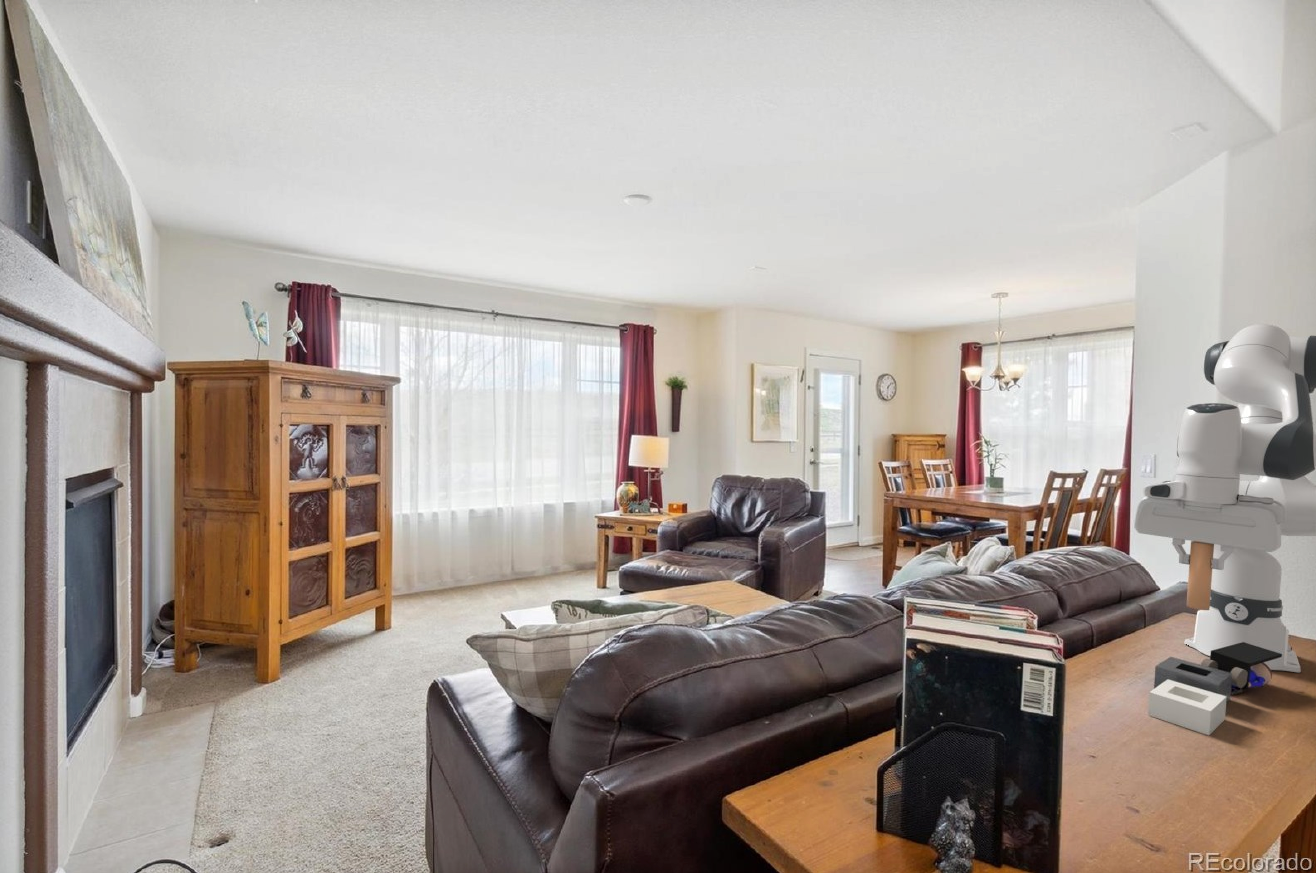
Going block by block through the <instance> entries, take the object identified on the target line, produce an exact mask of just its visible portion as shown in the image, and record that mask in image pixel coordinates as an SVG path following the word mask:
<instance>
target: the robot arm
mask: <svg viewBox="0 0 1316 873" xmlns="http://www.w3.org/2000/svg"><path fill="white" fill-rule="evenodd" d="M1201 365H1202V366H1201V367H1202V372H1203V375H1204V378H1205V380H1206V381H1207V382H1209V383H1210V384H1211V385H1213V386H1215V387H1216V389H1217V391H1219V393H1220V394H1222V395H1223V396H1224V397H1226V398H1227V399H1229V400H1231V401H1234V402H1236V403H1238V404H1237V405H1234V404H1228V403H1222V402H1221V403H1219V402H1218V403H1217V402H1216V403H1214V402H1213V403H1210V402H1209V403H1198V404H1191V405H1190V406H1188V407H1186V408H1185V409H1184V411H1183V414H1182V418H1181V422H1180V427H1179V431H1178V435H1177V436H1178V437H1177V446H1176V455H1177V457H1178V459H1179V461H1178V462H1179V463H1178V465H1177V468H1176V470H1175V479H1174V480H1166V481H1162V482H1159V483H1152V484H1147V485H1144V486H1143V491H1142V493H1143V495H1144V496H1145V497H1144V498H1142V499H1141V500H1139V502H1138V504H1137V506H1136V510H1135V514H1134V522H1133V528H1134V529H1135V531H1136V532H1137V533H1138V534H1142V535H1150V536H1156V537H1161V538H1162V537H1163V538H1169V539H1171V538H1172V543H1171V544H1172V546H1173V547H1174V549H1175V550H1176V553H1177V554H1178V555H1179V556H1178V563H1179V564H1183V565H1189V563H1190V553H1187V552H1186V551H1185V550H1186V549H1184V547H1183V545H1185V544H1186V541H1190V542H1191V541H1197V542H1203V543H1210V544H1214V553H1213V559H1211V563H1212V565H1211V569H1212V581H1211V595H1210V609H1209V610H1197V613H1196V619H1195V625H1194V632H1193V637H1190V638H1185V639H1184V643H1183V644H1184V645H1186V644H1187V645H1186V646H1188V645H1189V647H1191V648H1193V649H1196V651H1198V652H1200V653H1201V654H1204V655H1206V656H1209V657H1210V655H1211V651H1212V650H1216V649H1219V648H1223V647H1227V646H1230V645H1234V644H1238V643H1241V642H1245V643H1248V644H1251V645H1254V646H1258V647H1261V648H1264V649H1267V650H1271V651H1274V652H1277V653H1280V654H1282V657H1280V658H1277V659H1273V660H1270V661H1267V662H1264V663H1265V664H1266V665H1267V666H1268V667H1269V668H1270V669H1271V671H1284V672H1285V671H1286V672H1292V673H1293V672H1294V673H1301V672H1302V670H1301V669H1302V668H1301V665H1300V663H1299V659H1298V657H1297V654H1296V651H1294V650H1293V647H1292V645H1289V629H1287V626H1286V625H1284V622H1283V621H1282V619H1281V617H1282V616H1283V609H1284V608H1283V607H1284V605H1283V601H1282V599H1281V598H1280V595H1281V584H1282V570H1283V569H1282V565H1281V563H1280V561H1279V560H1278V558H1276V557H1275V556H1273V555H1272V554H1270V553H1274V552H1275V551H1277V550H1279V549H1280V548H1281V546H1282V536H1285V537H1316V485H1315V484H1314V483H1312V481H1310V480H1309V479H1308V478H1307V477H1306V476H1307V475H1309V474H1310V473H1312V472H1314V471H1315V470H1316V433H1315V431H1314V420H1313V410H1312V402H1311V395H1310V394H1313V393H1314V391H1315V389H1316V335H1309V336H1289V334H1288V333H1287V332H1286V331H1285V330H1283V329H1282V328H1280V327H1278V326H1276V325H1273V324H1266V323H1265V324H1264V323H1262V324H1261V323H1259V324H1258V323H1256V324H1252V325H1249V326H1246V327H1244V328H1242V329H1240V330H1239V331H1238V332H1237V333H1235V334H1234V335H1233V336H1232V338H1230V340H1226V341H1225V340H1224V341H1222V342H1219V343H1215V344H1213V345H1212V346H1210V347H1209V348H1207V350H1206V351H1205V355H1204V357H1203V359H1202V364H1201ZM1241 475H1244V476H1245V475H1246V476H1257V477H1259V478H1258V479H1257V480H1243V479H1241Z"/></svg>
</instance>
